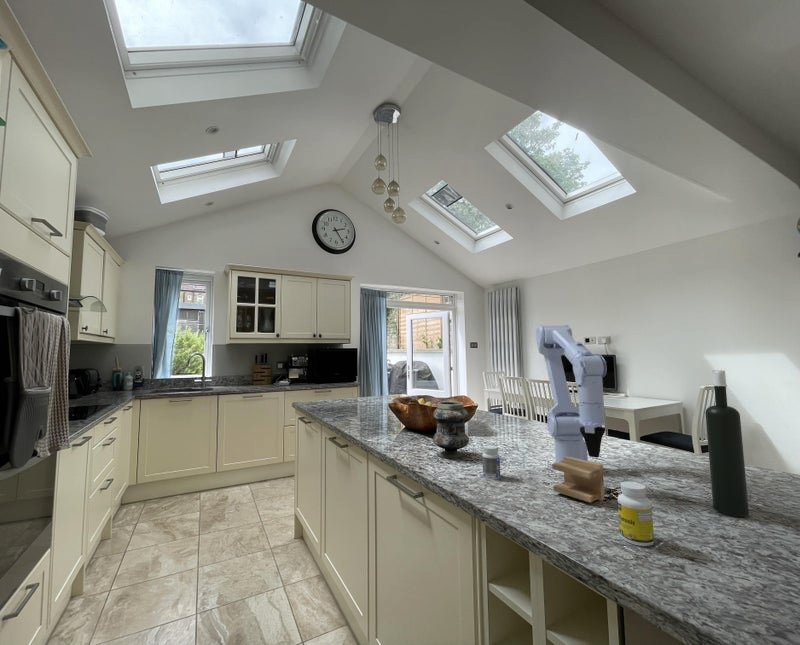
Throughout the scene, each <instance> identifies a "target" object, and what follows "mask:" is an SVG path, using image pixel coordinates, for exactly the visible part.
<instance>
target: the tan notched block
mask: <svg viewBox="0 0 800 645" xmlns="http://www.w3.org/2000/svg"><path fill="white" fill-rule="evenodd" d="M551 465H552V468H551V469H552V470H554V471H558V472H562V473H563V478H564V479H563V480H564V481H563V482H560V483H558V484H554V485H553V486H552V487H553V492H555V493H558V494H562V495H564V496H569V497H571V498H574V499H577V500H581V501H585V502H587V503H592V502H594V501H596V500H597V501H601V502H602V501H604V500H605V483H604V480H605V479H604V466H603V464H602V463H598V462H594V461H590V460H588V461H586V460H581V459H577V458H573V457H568V456H565V457H563V461H560V462H557V463H556V462H555V463H552V464H551Z"/></svg>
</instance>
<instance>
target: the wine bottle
mask: <svg viewBox="0 0 800 645" xmlns="http://www.w3.org/2000/svg"><path fill="white" fill-rule="evenodd" d="M711 372H712V382H713V383H712V384H713V388H714V399H715V400H714V402H715V405H710V406H709V407H707V408H706V410H705V412H704V413H705V423H706V436H707V447H708V448H707V450H708V460H709V470H710V484H711V496H712V508H713V509H715V510H716V511H718V512H720V513H722V514H725V515H730V516H733V517H735V516H736V517H748V516H749V515H750V512H749V511H750V509H749V501H748V500H749V498H748V489H747V487H748V486H747V479H746V478H747V477H746V476H747V475H746V466H745V454H744V446H743V445H744V444H743V443H744V442H743V433H742V425H741V424H742V423H741V422H742V421H741V414H740V412H739V411H738V410H737V409H736V408H735V407H732V406H729V405H728V397H727V396H728V395H727V387H726V386H727V380H726V377H727V376H726V370H722V369H721V370H718V369H715V370H711Z"/></svg>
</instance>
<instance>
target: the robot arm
mask: <svg viewBox="0 0 800 645" xmlns="http://www.w3.org/2000/svg"><path fill="white" fill-rule="evenodd" d="M535 332H536V333H535V341H536V345H537V346H536V347H537V349H538V353H539V354H541V355H543V357H544V361H545V365H546V371H547V376H548V380H549V381H548V382H549V384H550V390H551V394H552V399H553V400H552V401H553V403H554V404H553V406H552V407H551V408H550V409H549V410H548V411H547V413H546V417H547V421H546V422H547V423H546V425H547V426H546V427H547V430H548V434H550V435H551V437H552V438H554V455H555V456H554V458H555V463H557V462H560V461H563V457H565V456H568V457H573V458H577V459H581V460H586V461H589V460H588V458H599V457H600V454H601V446H602V445H601V444H602V440H603V439H602V438H603V436H604V434H605V433H606V429H607V428H606V427H603V426H605V425H606V420H605V419H606V418H605V404H604V403H605V401H604V386H603V385H604V383H603V378H605V376H606V375H607V370H608V369H607V361H606V360H605V358H604V357H603V355H602V354H593V353H592V352H591V351H590V349H588V348H587V347H586V345H585V344H583V343H582V342H581V341H575V339H574V337H573V330H572V328H571V327H570V325H568V324H565V325H562V324H561V325H538V326H537V328H536V330H535ZM563 355H564V357H566V359H567V360H568V361H569V362H570V364H571V365H572V372H573V375H574V377H575V378H574V379H575V380H574V381H575V383H576V385H577V390H578V392H577V393H578V395H577V396H578V407H577V406H575V405H574V404H573V403H572V399H571V396H570V391H569V386H568V383H567V377H566V373H565V369H564V364H563V362H562V361H563V360H562V356H563ZM588 456H589V457H588ZM549 468H550V469H552V464H551V465H549Z"/></svg>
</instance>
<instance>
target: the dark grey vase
mask: <svg viewBox="0 0 800 645" xmlns="http://www.w3.org/2000/svg"><path fill="white" fill-rule="evenodd" d="M432 416H433V418H434V419H435V420H436V433H434V435H433V437H432V442H433V443H434V445H435V446H437V447H438V448H441V449H443V450H442V451H441V452H438V453H437V454H436V456H437V457H438V458H440V459H444V460H453V461H454V460H461V459H465V458H467V456H466V454H465V453H464V452H462V451H459V450H461V449H463V448H466V446H468V444H469V443H470V438H469V436H468V435H467V434H466V420H467V419H468V418H469V412H468V411H467V410H466V409H465V407H464V403H463V402H461V401H456V400H455V401H453V400H452V401H451V400H443V401H438V403H437V408H436V409H434V411H433V415H432Z"/></svg>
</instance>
